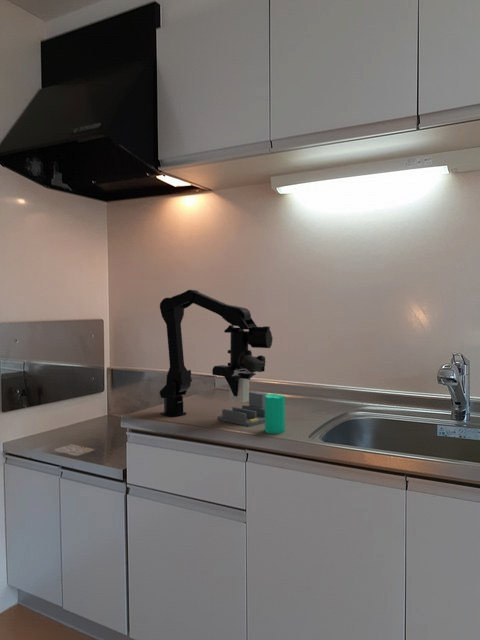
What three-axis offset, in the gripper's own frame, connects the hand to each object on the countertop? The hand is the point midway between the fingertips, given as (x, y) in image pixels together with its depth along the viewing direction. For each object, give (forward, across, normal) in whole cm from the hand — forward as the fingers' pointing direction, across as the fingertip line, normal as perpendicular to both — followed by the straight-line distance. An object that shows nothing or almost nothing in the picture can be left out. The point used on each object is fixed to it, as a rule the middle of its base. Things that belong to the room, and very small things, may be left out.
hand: (239, 395), depth 159 cm
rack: (+8, +5, 0) cm, 9 cm away
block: (+2, 0, 0) cm, 2 cm away
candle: (+8, -1, -16) cm, 18 cm away
